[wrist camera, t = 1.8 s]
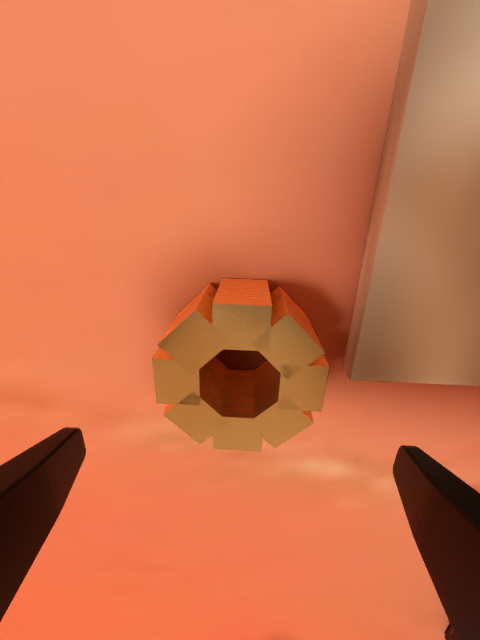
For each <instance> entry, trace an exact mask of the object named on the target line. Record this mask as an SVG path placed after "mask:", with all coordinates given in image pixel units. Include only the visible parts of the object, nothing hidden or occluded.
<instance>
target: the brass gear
mask: <svg viewBox="0 0 480 640" xmlns="http://www.w3.org/2000/svg"><path fill="white" fill-rule="evenodd" d="M158 346H159V349H158V350H157V352H156V353H155V355H154V356H153V358H152V360H153V371H154V381H155V391H156V402H157V403H163V404H168V405H167V408H166V410H165V413H164V416H165V417H167V418H168V419H169V420H170V421H172V422H173V423H174V424H175V425H177V426H178V427H179V428H180V429H182V430H183V431H184V432H185V433H187V434H188V435H189V436H190V437H192V438H193V439H194V440H195V441H197V442H198V443H199V444H201V443H202V442H203V441H205V440H206V439H207V438H209V437H210V436H211V435H213V449H222V450H240V451H258V452H261V447H262V437H263V438H264V439H265V440H266V441H267V442H269V443H270V444H271V445H272V446H273V447H274V448H276V447H278V446H279V445H281V444H282V443H284V442H285V441H287V440H288V439H290V438H291V437H293V436H294V435H296V434H297V433H299V432H301V431H302V430H304V429H305V428H307V427H308V426H310V425H311V424H313V423H314V421H313V418H312V414H311V411H320V412H322V407H323V401H324V395H325V389H326V383H327V377H328V371H329V365H328V363H327V361H326V358H325V356H324V353H325V351H324V349H323V347H322V345H321V343H320V341H319V339H318V337H317V335H316V333H315V331H314V329H313V327H312V324H311V322H310V320H309V318H308V316H307V315H306V314H305V313H304V312H303V311H302V310H301V309H300V307H299V306H298V305H297V304H296V303H295V302H294V301H293V300H292V299H291V298H290V297H289V295H288V294H287V293H286V292H285V291H284V290H283V289H282V288H281V287H280V286H278V287H277V288H276V289H275V290H274V291H272V292H271V293H270V292H269V286H268V281H267V280H256V279H230V278H222V280H221V283H220V285H219V288H218V290H217V289H216V288H215V287H214V286H213V285H212V284H211V283H209V284H208V285H207V286H206V287H205V288H204V289H203V290H202V291H201V292H200V293H199V294H198V295H196V296H195V297H194V298H193V299H192V300H191V301H190V302H189V303H188V304H187V305H186V306H185V307H184V308H183V309H182V310H181V311H180V312H179V313H178V315H177V316H176V318H175V319H174V321H173V322H172V324H171V325H170V327H169V328H168V330H167V331H166V333H165V334H164V336H163V337H162V339H161V340H160V342H159V343H158ZM223 349H227V350H249V351H259V352H260V353H261V354H262V355H263V356H264V357H265V358H266V359H267V361H266V362H264V363H263V364H262V365H260V366H259V367H258V368H257V369H255V370H254V371H250V370H229V369H228V368H227V367H226V366H225V365H224V364H223V363H222V362H221V361H219V360H218V359H217V358H216V357H215V356H216V355H217V354H218V353H219V352H220V351H222V350H223Z"/></svg>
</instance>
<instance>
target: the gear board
mask: <svg viewBox="0 0 480 640" xmlns="http://www.w3.org/2000/svg"><path fill="white" fill-rule="evenodd" d="M343 368H344V369H345V371H346V373H347V375H348V377H349V378H350V380H362V381H383V382H403V383H424V384H445V385H466V386H480V0H412V2H411V7H410V12H409V18H408V23H407V28H406V33H405V39H404V44H403V49H402V55H401V60H400V65H399V71H398V76H397V81H396V86H395V92H394V97H393V102H392V108H391V113H390V118H389V124H388V129H387V134H386V140H385V145H384V150H383V155H382V161H381V166H380V171H379V177H378V182H377V187H376V193H375V198H374V203H373V208H372V214H371V219H370V224H369V230H368V235H367V240H366V246H365V251H364V256H363V261H362V267H361V272H360V277H359V283H358V288H357V293H356V299H355V304H354V309H353V315H352V320H351V325H350V330H349V336H348V341H347V346H346V352H345V357H344V362H343Z"/></svg>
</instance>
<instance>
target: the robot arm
mask: <svg viewBox="0 0 480 640" xmlns="http://www.w3.org/2000/svg"><path fill="white" fill-rule="evenodd" d="M85 454H86V448H85V444H84V439H83V435H82V431H81V429H80V428H72V427H66V428H63V429H61V430H59V431H58V432H56V433H54V434H53V435H51V436H49V437H48V438H46V439H44V440H43V441H41V442H39V443H38V444H36V445H34V446H33V447H31V448H29V449H27V450H26V451H24V452H22V453H21V454H19V455H17V456H16V457H14V458H12V459H11V460H9V461H7V462H6V463H4V464H2V465H1V466H0V622H1V620H2V618H3V616H4V614H5V613H6V611H7V609H8V607H9V605H10V603H11V602H12V600H13V598H14V596H15V594H16V593H17V591H18V589H19V587H20V585H21V584H22V582H23V580H24V578H25V576H26V574H27V573H28V571H29V569H30V567H31V565H32V564H33V562H34V560H35V558H36V556H37V555H38V553H39V551H40V549H41V547H42V545H43V544H44V542H45V540H46V538H47V536H48V535H49V533H50V531H51V529H52V527H53V526H54V524H55V522H56V520H57V518H58V516H59V514H60V512H61V510H62V508H63V506H64V504H65V501H66V499H67V497H68V494H69V492H70V490H71V488H72V485H73V483H74V481H75V479H76V476H77V474H78V472H79V469H80V467H81V465H82V463H83V460H84V458H85ZM393 475H394V479H395V482H396V485H397V488H398V491H399V494H400V497H401V500H402V503H403V507H404V510H405V513H406V516H407V519H408V522H409V525H410V528H411V531H412V534H413V537H414V539H415V542H416V544H417V547H418V549H419V551H420V554H421V556H422V558H423V561H424V563H425V565H426V568H427V570H428V572H429V575H430V577H431V579H432V582H433V584H434V586H435V589H436V591H437V593H438V596H439V598H440V601H441V603H442V605H443V608H444V610H445V612H446V615H447V617H448V619H449V622H450V624H451V626H450V628H449V630H448V631H447V633H446V635H445V639H446V640H480V493H478V492H477V491H476V490H474V489H473V488H472V487H470V486H469V485H468V484H466V483H465V482H464V481H462V480H461V479H460V478H458V477H457V476H456V475H454V474H453V473H452V472H450V471H449V470H448V469H446V468H445V467H444V466H442V465H441V464H440V463H438V462H437V461H436V460H434V459H433V458H432V457H430V456H429V455H428V454H426V453H425V452H424V451H422V450H421V449H420V448H418V447H416V446H405V445H403V446H400V447H399V449H398V452H397V455H396V459H395V462H394V465H393Z"/></svg>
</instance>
